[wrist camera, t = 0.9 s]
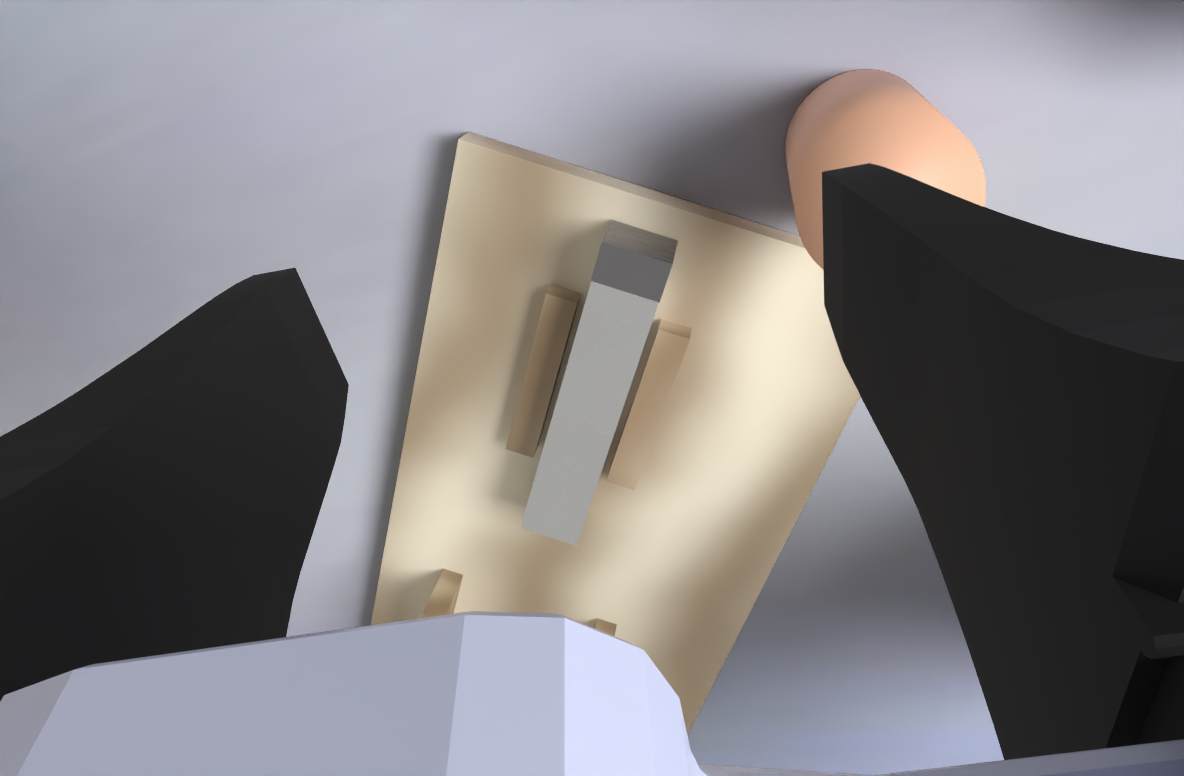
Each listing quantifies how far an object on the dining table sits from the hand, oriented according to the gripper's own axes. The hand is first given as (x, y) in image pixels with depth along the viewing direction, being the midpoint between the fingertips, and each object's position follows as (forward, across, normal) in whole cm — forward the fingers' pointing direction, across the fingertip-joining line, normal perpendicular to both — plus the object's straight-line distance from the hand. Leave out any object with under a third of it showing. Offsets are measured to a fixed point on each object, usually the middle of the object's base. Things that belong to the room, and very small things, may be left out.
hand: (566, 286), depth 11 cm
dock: (+12, +3, +17) cm, 21 cm away
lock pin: (+12, +1, +10) cm, 16 cm away
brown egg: (+13, -8, +4) cm, 15 cm away
